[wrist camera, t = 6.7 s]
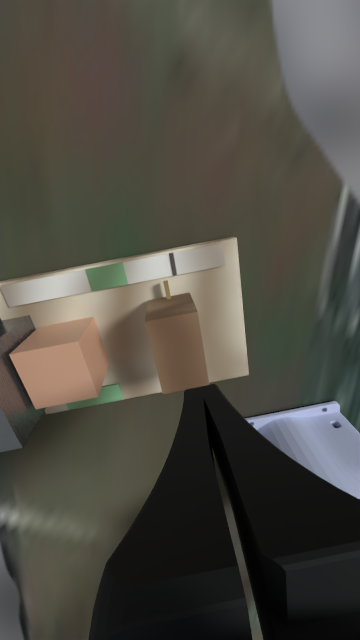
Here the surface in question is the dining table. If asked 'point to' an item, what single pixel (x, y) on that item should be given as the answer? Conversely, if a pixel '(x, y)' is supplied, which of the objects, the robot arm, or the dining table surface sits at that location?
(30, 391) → the peach matte cube
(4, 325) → the grey flat block
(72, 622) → the dining table surface
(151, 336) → the brown box with peg
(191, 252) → the gauge board
